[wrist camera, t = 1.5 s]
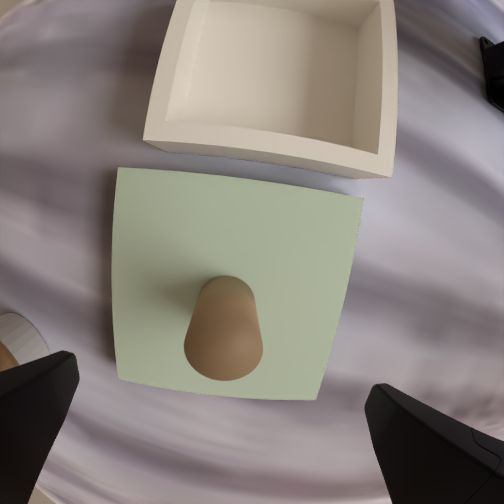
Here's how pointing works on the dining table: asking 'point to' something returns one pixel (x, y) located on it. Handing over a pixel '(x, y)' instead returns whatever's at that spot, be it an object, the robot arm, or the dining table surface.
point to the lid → (228, 282)
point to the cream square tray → (280, 84)
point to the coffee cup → (19, 342)
